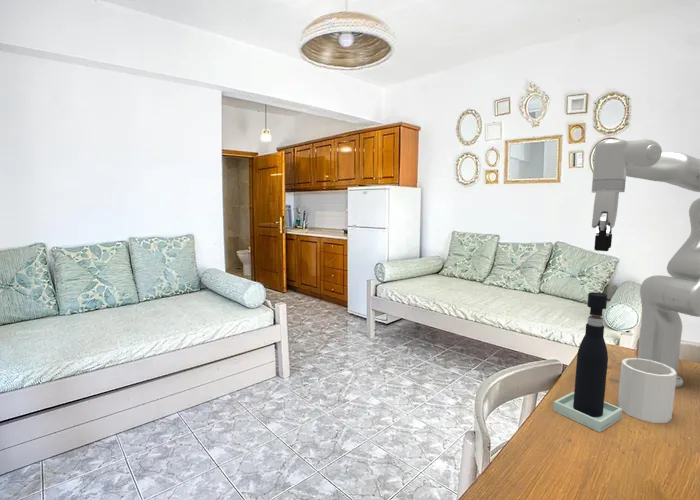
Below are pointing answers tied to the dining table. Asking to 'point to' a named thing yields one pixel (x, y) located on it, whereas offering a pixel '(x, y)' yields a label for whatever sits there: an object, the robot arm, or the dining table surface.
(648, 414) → the wine cooler
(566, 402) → the sage tray
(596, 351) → the wine bottle
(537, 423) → the dining table surface
